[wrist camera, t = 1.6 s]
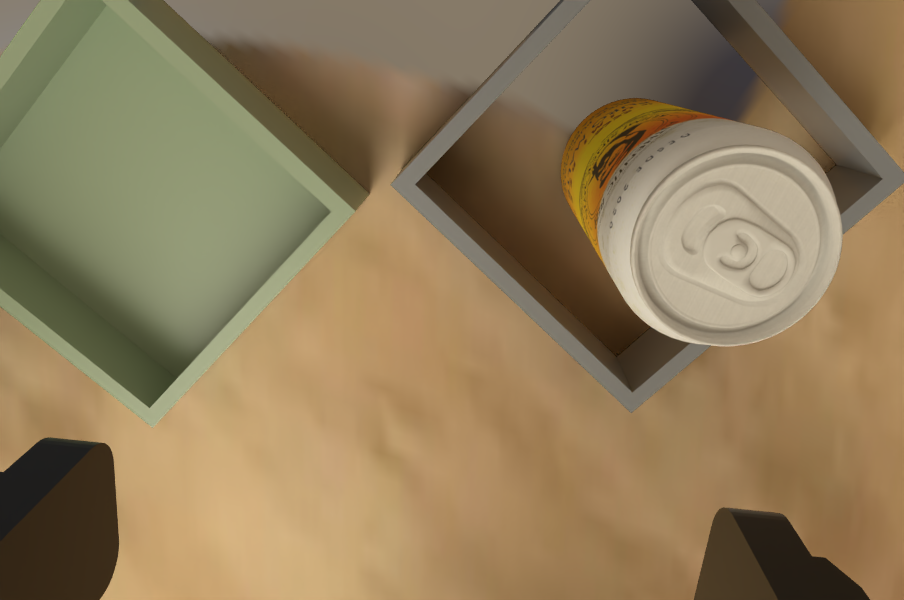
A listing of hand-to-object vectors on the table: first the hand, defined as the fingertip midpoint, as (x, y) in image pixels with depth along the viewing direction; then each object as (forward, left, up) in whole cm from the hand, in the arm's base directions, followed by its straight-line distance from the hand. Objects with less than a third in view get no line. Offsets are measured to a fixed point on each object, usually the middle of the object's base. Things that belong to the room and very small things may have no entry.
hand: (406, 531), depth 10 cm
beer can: (-5, -6, -25) cm, 26 cm away
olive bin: (+10, +10, -25) cm, 29 cm away
